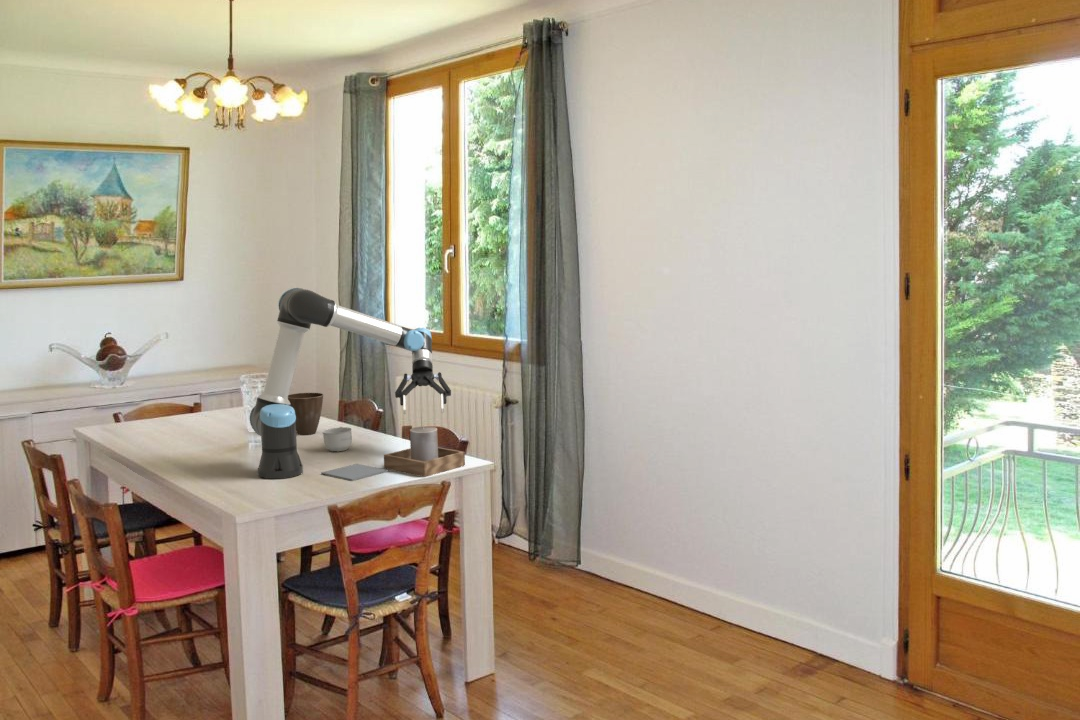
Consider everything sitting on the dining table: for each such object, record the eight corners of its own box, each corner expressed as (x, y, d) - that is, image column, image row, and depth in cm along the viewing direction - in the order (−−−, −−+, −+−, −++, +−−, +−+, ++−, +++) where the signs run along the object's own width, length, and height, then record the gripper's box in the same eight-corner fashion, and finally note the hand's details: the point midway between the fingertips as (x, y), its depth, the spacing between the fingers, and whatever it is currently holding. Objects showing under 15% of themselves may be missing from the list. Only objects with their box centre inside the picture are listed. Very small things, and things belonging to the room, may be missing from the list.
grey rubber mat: (352, 480, 332) (352, 479, 332) (321, 474, 342) (321, 472, 342) (387, 471, 345) (387, 469, 345) (356, 465, 355) (356, 463, 355)
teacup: (345, 453, 374) (344, 432, 373) (318, 452, 376) (317, 431, 375) (359, 445, 387) (358, 425, 386) (333, 444, 390) (332, 424, 388)
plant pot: (280, 434, 411) (278, 396, 409) (308, 428, 423) (306, 391, 421) (304, 438, 402) (303, 399, 400) (332, 432, 414) (330, 394, 412)
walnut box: (424, 477, 337) (424, 462, 336) (384, 468, 349) (383, 454, 348) (465, 465, 352) (464, 451, 351) (424, 458, 364) (424, 444, 364)
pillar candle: (419, 463, 357) (417, 422, 355) (443, 465, 353) (442, 423, 351) (406, 469, 348) (404, 427, 346) (430, 471, 344) (428, 429, 342)
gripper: (455, 369, 376) (458, 415, 363) (389, 371, 373) (389, 418, 360) (455, 357, 370) (458, 404, 357) (388, 359, 367) (388, 406, 354)
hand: (423, 411), depth 359 cm, fingers open, 13 cm apart
